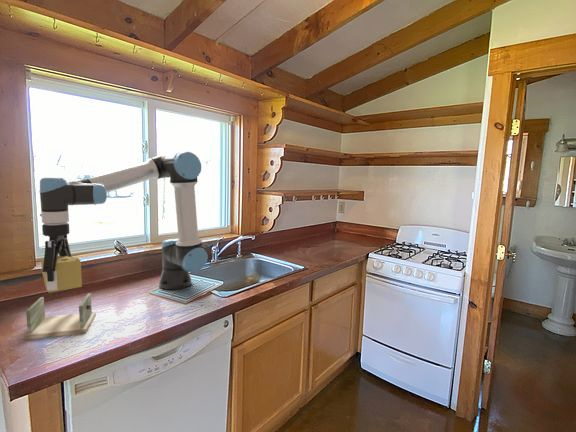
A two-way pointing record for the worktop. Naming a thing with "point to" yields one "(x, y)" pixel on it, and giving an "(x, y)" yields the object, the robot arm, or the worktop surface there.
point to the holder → (58, 321)
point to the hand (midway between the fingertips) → (59, 283)
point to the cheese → (66, 273)
